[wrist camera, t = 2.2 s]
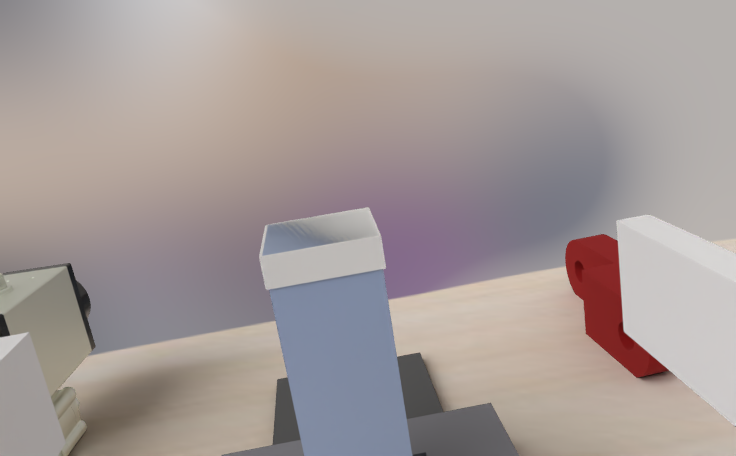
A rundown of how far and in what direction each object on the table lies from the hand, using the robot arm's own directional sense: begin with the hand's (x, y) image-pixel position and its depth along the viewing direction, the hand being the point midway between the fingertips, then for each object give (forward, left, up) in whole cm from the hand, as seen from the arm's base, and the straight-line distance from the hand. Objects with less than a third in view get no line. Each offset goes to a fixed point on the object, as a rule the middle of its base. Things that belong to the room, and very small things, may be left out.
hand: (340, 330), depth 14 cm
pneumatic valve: (-20, +25, -16) cm, 36 cm away
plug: (0, +10, -15) cm, 18 cm away
